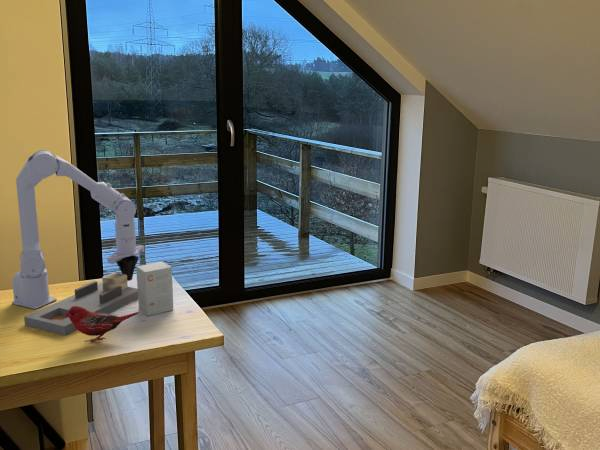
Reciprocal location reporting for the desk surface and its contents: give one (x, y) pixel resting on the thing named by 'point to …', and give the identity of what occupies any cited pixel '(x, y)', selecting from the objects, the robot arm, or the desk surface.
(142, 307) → the small box
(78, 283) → the desk surface
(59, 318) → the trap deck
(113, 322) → the decorative bird figurine
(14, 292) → the robot arm
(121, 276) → the maple block
